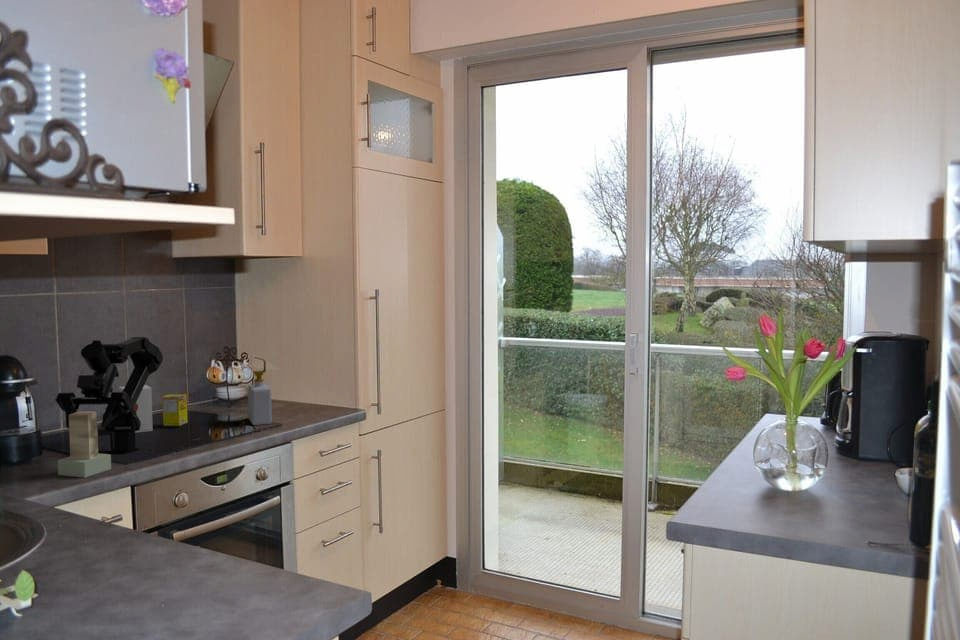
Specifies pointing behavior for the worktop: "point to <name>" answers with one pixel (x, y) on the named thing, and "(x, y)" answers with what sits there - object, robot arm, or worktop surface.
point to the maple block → (83, 435)
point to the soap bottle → (259, 400)
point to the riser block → (84, 466)
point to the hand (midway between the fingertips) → (85, 427)
